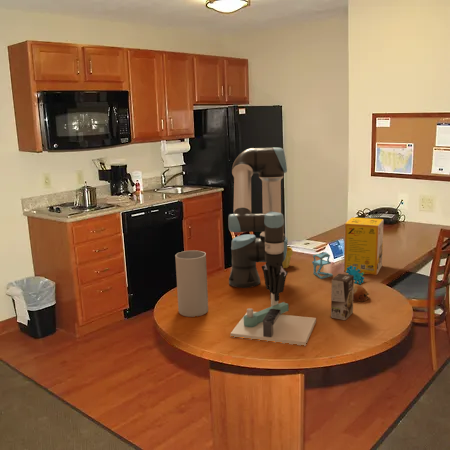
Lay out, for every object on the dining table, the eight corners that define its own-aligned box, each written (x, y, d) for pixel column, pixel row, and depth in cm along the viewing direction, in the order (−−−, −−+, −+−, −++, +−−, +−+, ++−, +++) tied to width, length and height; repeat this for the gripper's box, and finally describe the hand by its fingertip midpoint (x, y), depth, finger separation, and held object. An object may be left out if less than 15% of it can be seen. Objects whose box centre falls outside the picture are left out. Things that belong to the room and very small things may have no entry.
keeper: (262, 336, 186) (261, 321, 184) (270, 322, 197) (270, 308, 196) (272, 337, 184) (272, 322, 183) (280, 323, 196) (280, 309, 194)
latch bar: (250, 328, 192) (249, 313, 191) (241, 324, 196) (240, 309, 195) (290, 311, 206) (290, 297, 205) (281, 308, 210) (281, 294, 209)
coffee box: (346, 320, 200) (346, 281, 197) (330, 317, 204) (330, 279, 200) (353, 312, 208) (354, 275, 204) (338, 309, 211) (338, 272, 207)
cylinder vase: (211, 306, 219) (209, 250, 214) (203, 318, 207) (201, 259, 202) (183, 305, 222) (180, 250, 216) (174, 316, 210) (171, 258, 204)
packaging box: (350, 262, 274) (351, 217, 268) (382, 265, 267) (383, 219, 261) (343, 271, 260) (344, 223, 254) (376, 274, 253) (378, 225, 247)
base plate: (230, 336, 189) (230, 333, 189) (247, 314, 210) (247, 311, 209) (305, 346, 180) (305, 342, 180) (316, 321, 200) (316, 318, 200)
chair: (321, 272, 260) (321, 249, 258) (332, 275, 254) (333, 252, 251) (309, 275, 256) (309, 252, 254) (321, 279, 249) (321, 255, 247)
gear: (353, 283, 236) (344, 265, 241) (346, 290, 240) (337, 271, 245) (370, 282, 242) (360, 264, 247) (362, 288, 246) (353, 270, 251)
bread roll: (355, 300, 230) (349, 284, 231) (374, 296, 223) (368, 279, 223) (343, 307, 223) (337, 289, 224) (362, 302, 216) (356, 284, 217)
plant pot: (293, 263, 275) (292, 246, 273) (292, 269, 266) (292, 251, 263) (273, 263, 277) (273, 246, 275) (272, 269, 267) (271, 251, 265)
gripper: (256, 250, 204) (257, 305, 210) (278, 257, 194) (279, 314, 200) (269, 246, 209) (270, 300, 214) (292, 253, 199) (292, 309, 204)
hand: (274, 307), depth 207 cm, fingers closed
